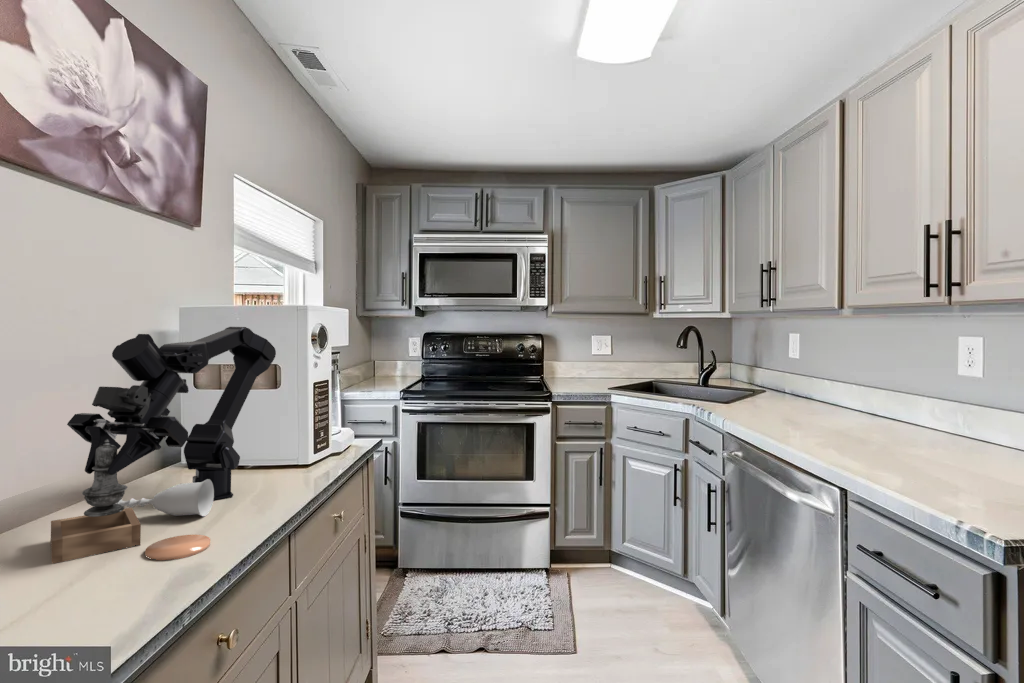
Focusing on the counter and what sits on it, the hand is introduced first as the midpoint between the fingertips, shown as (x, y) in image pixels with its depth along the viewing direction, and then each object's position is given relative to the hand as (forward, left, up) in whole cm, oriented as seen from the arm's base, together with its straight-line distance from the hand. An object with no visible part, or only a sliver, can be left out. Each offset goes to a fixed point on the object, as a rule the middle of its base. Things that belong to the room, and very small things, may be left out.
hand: (98, 473), depth 84 cm
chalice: (-2, -17, -10) cm, 19 cm away
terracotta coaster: (-10, +8, -12) cm, 18 cm away
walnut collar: (0, -3, -12) cm, 13 cm away
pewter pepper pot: (-1, -1, -7) cm, 7 cm away
